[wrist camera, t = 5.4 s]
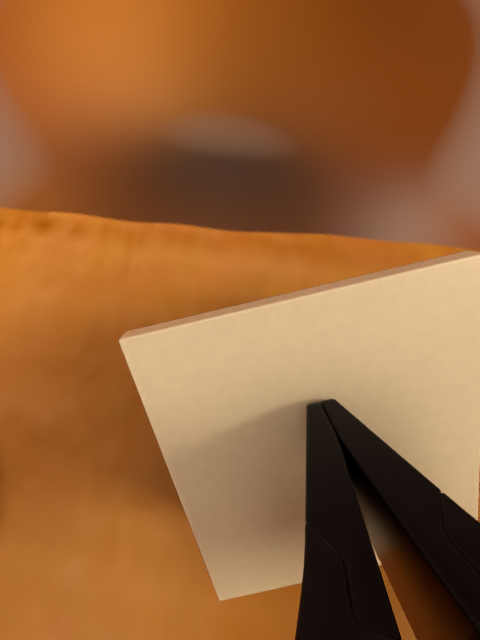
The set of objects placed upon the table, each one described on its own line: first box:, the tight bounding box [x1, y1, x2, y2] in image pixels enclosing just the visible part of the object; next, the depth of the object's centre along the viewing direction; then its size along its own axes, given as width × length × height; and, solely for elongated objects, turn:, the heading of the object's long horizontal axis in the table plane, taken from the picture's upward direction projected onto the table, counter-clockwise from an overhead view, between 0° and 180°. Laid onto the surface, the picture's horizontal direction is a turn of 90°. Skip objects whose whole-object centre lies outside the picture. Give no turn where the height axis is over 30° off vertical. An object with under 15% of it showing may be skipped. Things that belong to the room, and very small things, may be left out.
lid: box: [119, 251, 480, 601], centre depth 10 cm, size 11×10×1 cm
